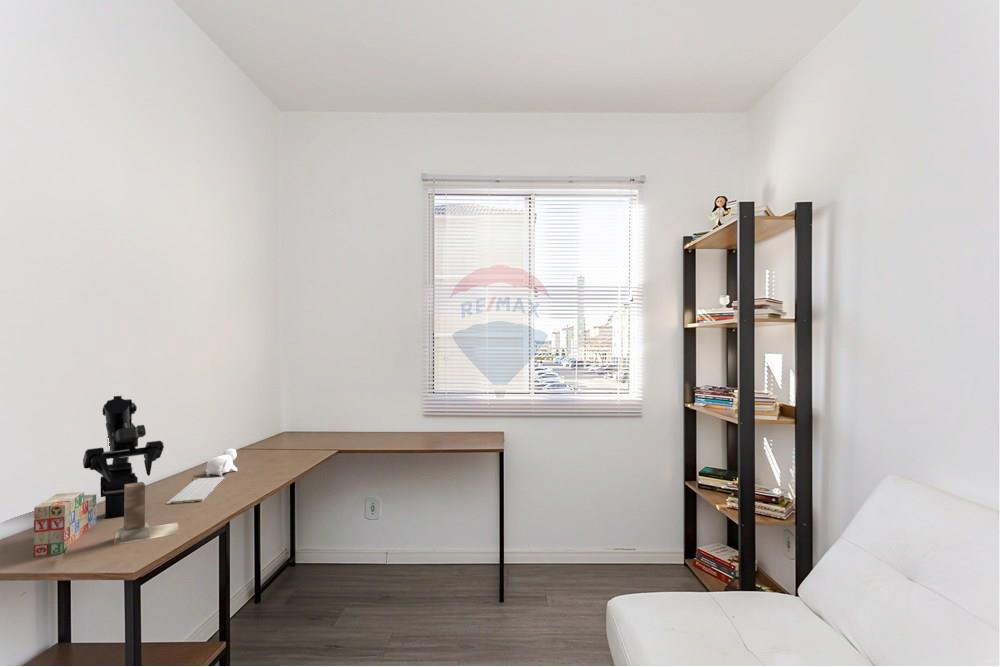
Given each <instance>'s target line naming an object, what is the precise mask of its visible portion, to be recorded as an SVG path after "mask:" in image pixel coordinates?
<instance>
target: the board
mask: <svg viewBox="0 0 1000 667" xmlns="http://www.w3.org/2000/svg"><path fill="white" fill-rule="evenodd" d="M149 527H150V537H146V538H141V539H136V540H131V541H126V542H121V540H120V538H119V531H115V535H114V540H113V546H114V545H122V544H128V543H134V542H140V541H146V540H152V539H156V538H157V539H159V538H164V537H169V536H175V535H180V528H179V522H177V521H176V522H173V523H172V522H171V523H167V524H158V525H154V526H152V525H151V526H149Z"/></svg>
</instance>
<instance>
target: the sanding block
mask: <svg viewBox="0 0 1000 667" xmlns="http://www.w3.org/2000/svg"><path fill="white" fill-rule="evenodd" d="M145 518H146V484H145V483H144V481H140V482H139V481H138V483H131V484H124V516H123V526H121V527H120V526H119V527H118V532H119V538H120V540H121V542H126V541H131V540H136V539H141V538H146V537H150V527H151V526H150V525H149V524H148V522H147V521H146V519H145Z"/></svg>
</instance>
